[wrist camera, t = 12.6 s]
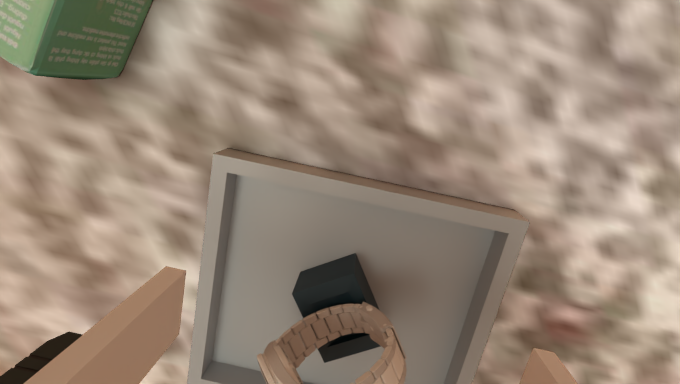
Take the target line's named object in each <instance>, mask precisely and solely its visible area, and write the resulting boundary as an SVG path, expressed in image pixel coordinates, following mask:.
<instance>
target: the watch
mask: <svg viewBox="0 0 680 384" xmlns="http://www.w3.org/2000/svg"><path fill="white" fill-rule="evenodd" d="M292 295H293V298H294V300H295V302H296V304H297V306H298V308H299V310H300V312H301V315H302V317H303V320H300V321H298V322H297V323H295V324H294V325H292V326H291V327H290V328H291V329H288V330H286V331H285V332H284V333H283V334H282V335H281V336H280V337H279V338H278V339H277V340H273V341H272V342H270V343H269V344H268V345H267V347H266V348H265V350H264V353H263V354H261V353H260V354H258V355H257V360H258V363H259V367H260V369H261V372H262V374H263V376H264V379H265V381H266V383H267V384H303V382H302V380H301V378H300V376H299V374H298V372H297V371H296V368H298V367H299V366H300V364H301V363H302V362H303V361H304V360H305V357H308V356H309V355H310V354H311V353H313V352H314V351H315V350H316V348H317V349H318V351H319V353H320V355H321V357H322V359H323V361H324V363H326V362H330V361H333V360H337V359H340V358H343V357H347V356H350V355H354V354H357V353H360V352H364V351H367V350H371V349H374V348H377V347H381V346H382V347H383V348H384V349H385V350H384V352H383V354H382V356H381V359H379V360H378V361H377V362H376V363H375V364H374V365H373V366H372V367H371V369H370V371H367V372H365V373H364V374H363V375H362V376H360V377H359V378H357V379H356V380H355V383H356V384H404V382H405V377H406V362H405V360H406V359H407V357H406V355H405V352H404V350H403V347H402V345H401V342H400V340H399V338H398V335H397V333H396V331H395V328H394V326H393V325H392V323H391V322H390V320H389V319H388V318H387V317H386V315H385V314H384V313H382V312H381V311H380V310H379V307H378V305H377V303H376V300H375V298H374V295H373V293H372V291H371V288H370V286H369V283H368V281H367V279H366V276H365V274H364V271H363V269H362V267H361V264H360V262H359V259H358V257H357V255H356V253H354V254H351V255H348V256H345V257H342V258H339V259H336V260H333V261H330V262H327V263H324V264H321V265H318V266H316V267H313V268H310V269H307V270H304V271H301V272H300V274H299V276H298V279H297V282H296V284H295V287H294V289H293V292H292ZM303 321H304V322H303ZM304 323H305V324H304ZM299 335H300V336H299ZM300 337H301V338H300ZM301 339H302V340H301ZM302 341H303V342H302ZM303 343H304V344H303ZM355 383H350V384H355Z"/></svg>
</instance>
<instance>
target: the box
mask: <svg viewBox="0 0 680 384" xmlns="http://www.w3.org/2000/svg"><path fill="white" fill-rule="evenodd" d="M152 1H153V0H0V57H2V58H4V59H5V60H7V61H8V62H10V63H11V64H13V65H14V66H16V67H18V68H20V69H21V70H23V71H25V72H27V73H30V74H33V75H36V76H47V77H56V78H69V79H82V80H86V79H105V78H113V77H118V75H119V74H120V73H121V71H122V70H123V68H124V66H125V63H126V61H127V59H128V57H129V54H130V52H131V50H132V47H133V45H134V43H135V40H136V38H137V36H138V33H139V31H140V29H141V26H142V24H143V22H144V20H145V17H146V15H147V13H148V10H149V8H150V5H151V3H152Z"/></svg>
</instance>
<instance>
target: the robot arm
mask: <svg viewBox="0 0 680 384" xmlns="http://www.w3.org/2000/svg"><path fill="white" fill-rule="evenodd" d="M185 276H186V271H185V270H180V269H176V268H171V267H167V266H166V267H165V268H164V269H162V270H161V271H160V272H159V273H158V274H156V275H155V276H154V277H153V278H151V279H150V280H149V281H148V282H147V283H145V284H144V285H143V286H142V287H140V288H139V289H138V290H137V291H136V292H134V293H133V294H132V295H131V296H130V297H128V298H127V299H126V300H125V301H123V302H122V303H121V304H120V305H119V306H117V307H116V308H115V309H114V310H112V311H111V312H110V313H109V314H108V315H106V316H105V317H104V318H103V319H102V320H100V321H99V322H98V323H97V324H95V325H94V326H93V327H92V328H91V329H89V330H88V331H87V332H86V333H84V334H83V335H81V334H77V333H73V332H67V333H65V334H63V335H60V336H58V337H56V338H53V339H51V340H49V341H47V342H46V343H44V344H43V345H42V346H40V347H39V348H38V349H36V350H35V351H34V352H32V353H31V354H30V356H29V357H26V358H24V359H23V360H22V361H20V362H19V363H18V364H16V365H15V367H14V368H11V369H10V370H8V371H7V372H6V373H4V374H3V375H2V376H0V384H139V383H140V382H141V381H142V379H143V378H144V377H145V376H146V374H147V373H148V372H149V371H150V370H151V368H152V367H153V366H154V365H155V363H156V362H157V361H158V360H159V358H160V357H161V356H162V355H163V353H164V352H165V351H166V350H167V348H168V347H169V346H170V345H171V343H172V342H173V341H174V340H175V338H176V337H177V336H178V335H179V330H180V321H181V312H182V303H183V294H184V285H185ZM520 384H577V382H576V381H575V380H574V378H573V377H572V376H571V374H570V373H569V372H568V370H567V369H566V368H565V366H564V365H563V364H562V362H561V361H560V360H559V358H558V357H557V356H556V354H555V353H554V352H550V351H546V350H541V349H537V348H533V350H532V353H531V356H530V358H529V361H528V363H527V366H526V368H525V371H524V374H523V376H522V379H521V381H520Z"/></svg>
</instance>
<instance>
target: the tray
mask: <svg viewBox="0 0 680 384" xmlns="http://www.w3.org/2000/svg"><path fill="white" fill-rule="evenodd" d="M529 224H530V222H529V221H528V220H527V219H525V218H524V217H523V216H522V215H520V214H519V213H518V212H517V211H515V210H512V209H508V208H503V207H499V206H494V205H489V204H485V203H480V202H475V201H471V200H466V199H462V198H457V197H452V196H448V195H443V194H438V193H434V192H429V191H424V190H420V189H415V188H411V187H406V186H401V185H397V184H392V183H387V182H383V181H378V180H374V179H369V178H364V177H360V176H355V175H350V174H346V173H341V172H336V171H332V170H327V169H323V168H318V167H313V166H309V165H304V164H299V163H295V162H290V161H285V160H281V159H276V158H272V157H267V156H262V155H258V154H253V153H248V152H244V151H239V150H235V149H230V148H227V149H224V150H221V151H219V152H216V153H213V161H212V169H211V178H210V187H209V196H208V204H207V213H206V222H205V231H204V240H203V248H202V257H201V266H200V275H199V283H198V292H197V301H196V310H195V319H194V327H193V336H192V345H191V354H190V362H189V371H188V380H187V384H267V383H266V381H265V379H264V376H263V374H262V372H261V369H260V367H259V363H258V360H257V355H258V354H260V353H261V354H263V353H264V350H265V348H266V347H267V345H268V344H269V343H270V342H272V341H273V340H277V339H278V338H279V337H280V336H281V335H282V334H283V333H284V332H285V331H286V330H288V329H291V328H290V327H291V326H292V325H294V324H295V323H297V322H298V321H300V320H303V317H302V315H301V312H300V310H299V308H298V306H297V304H296V302H295V300H294V298H293V295H292V292H293V289H294V287H295V284H296V282H297V279H298V276H299V274H300V272H301V271H304V270H307V269H310V268H313V267H316V266H318V265H321V264H324V263H327V262H330V261H333V260H336V259H339V258H342V257H345V256H348V255H351V254H354V253H356V255H357V257H358V259H359V262H360V264H361V267H362V269H363V271H364V274H365V276H366V279H367V281H368V283H369V286H370V288H371V291H372V293H373V295H374V298H375V300H376V303H377V305H378V307H379V310H380V311H381V312H382V313H384V314H385V315H386V317H387V318H388V319H389V320H390V322H391V323H392V325H393V326H394V328H395V331H396V333H397V335H398V338H399V340H400V342H401V345H402V347H403V350H404V352H405V355H406V357H407V359H406V360H405V362H406V377H405V382H404V384H472V382H473V379H474V376H475V373H476V371H477V368H478V365H479V362H480V359H481V357H482V354H483V351H484V348H485V346H486V343H487V340H488V337H489V335H490V332H491V329H492V326H493V323H494V321H495V318H496V315H497V312H498V310H499V307H500V304H501V301H502V299H503V296H504V293H505V290H506V287H507V285H508V282H509V279H510V276H511V274H512V271H513V268H514V265H515V263H516V260H517V257H518V254H519V251H520V249H521V246H522V243H523V240H524V238H525V235H526V232H527V229H528V227H529ZM303 322H304V321H303ZM304 324H305V323H304ZM299 336H300V335H299ZM300 338H301V337H300ZM301 340H302V339H301ZM302 342H303V341H302ZM303 344H304V343H303ZM384 350H385V349H384V348H383V347H382V346H381V347H377V348H374V349H371V350H367V351H364V352H360V353H357V354H354V355H350V356H347V357H343V358H340V359H337V360H333V361H330V362H326V363H324V361H323V359H322V357H321V355H320V353H319V351H318V349H317V348H316V350H315V351H314V352H313V353H311V354H310V355H309V356H308V357H305V360H304V361H303V362H302V363H301V364H300V366H299V367H298V368H296V371H297V372H298V374H299V376H300V378H301V380H302V382H303V384H350V383H355V380H356V379H357V378H359V377H360V376H362V375H363V374H364V373H365V372H367V371H370V369H371V367H372V366H373V365H374V364H375V363H376V362H377V361H378V360H379V359H381V356H382V354H383V352H384ZM355 384H356V383H355Z"/></svg>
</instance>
